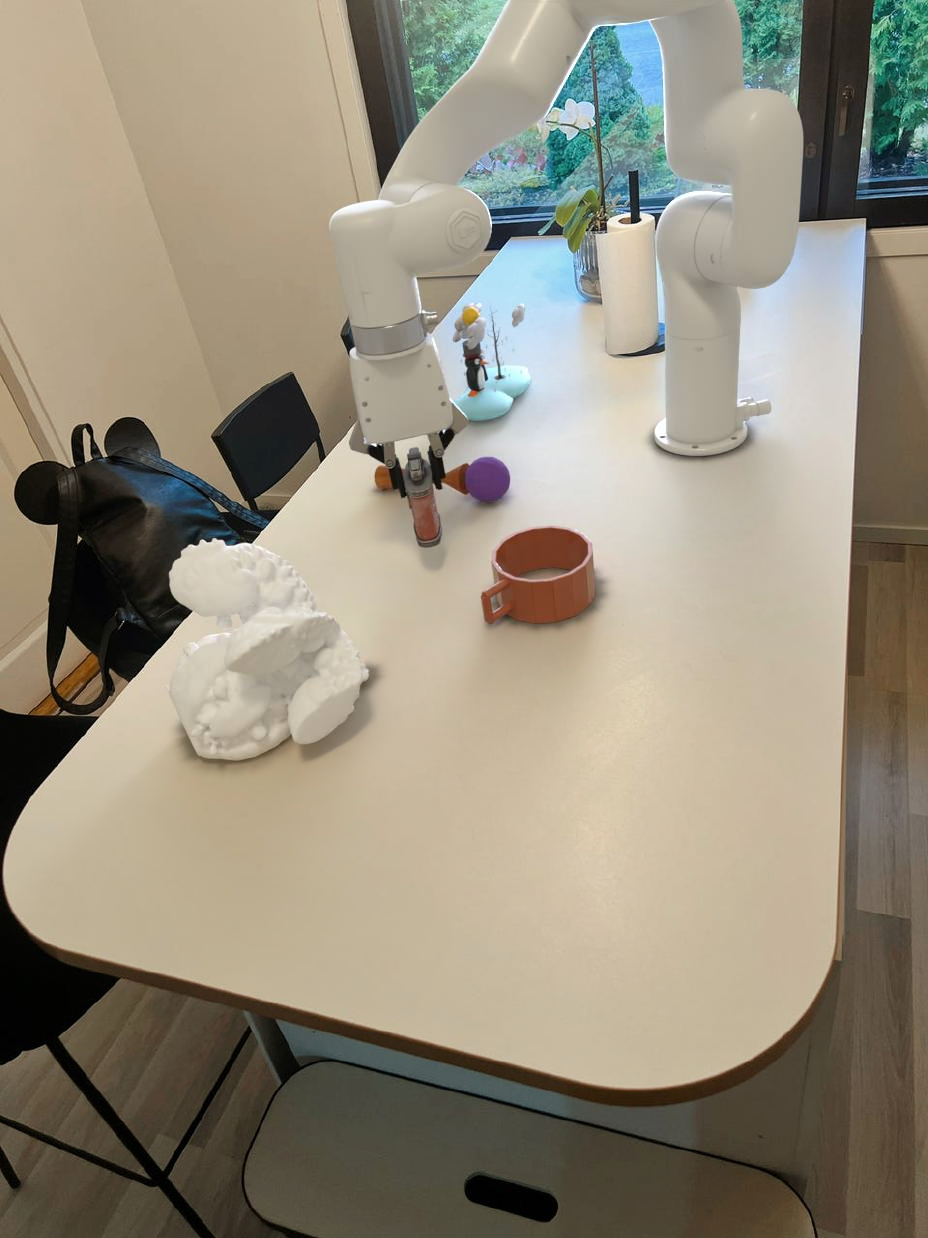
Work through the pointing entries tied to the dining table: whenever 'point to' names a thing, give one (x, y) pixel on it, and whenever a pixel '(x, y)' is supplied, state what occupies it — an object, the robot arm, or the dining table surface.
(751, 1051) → the dining table surface
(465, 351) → the penguin figurine
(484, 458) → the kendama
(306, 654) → the cauliflower
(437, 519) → the lighter
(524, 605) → the mug
